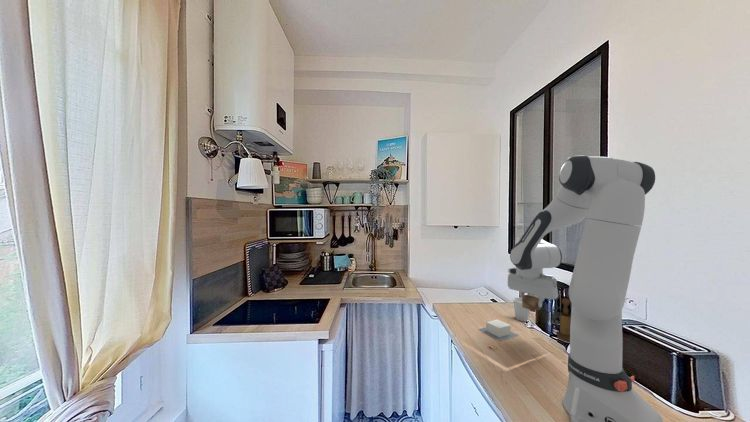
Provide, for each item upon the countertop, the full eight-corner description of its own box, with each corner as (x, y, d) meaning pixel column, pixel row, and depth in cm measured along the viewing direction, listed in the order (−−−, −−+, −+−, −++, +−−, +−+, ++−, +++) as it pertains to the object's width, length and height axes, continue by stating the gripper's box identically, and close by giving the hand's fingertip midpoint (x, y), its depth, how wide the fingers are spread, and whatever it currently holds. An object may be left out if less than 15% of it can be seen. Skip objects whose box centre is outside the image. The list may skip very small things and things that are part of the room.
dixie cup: (515, 321, 134) (515, 301, 134) (510, 315, 142) (510, 296, 142) (533, 323, 132) (533, 303, 132) (528, 316, 140) (528, 297, 140)
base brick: (510, 334, 118) (510, 325, 118) (499, 337, 115) (499, 328, 115) (496, 327, 124) (497, 319, 124) (486, 330, 121) (486, 322, 121)
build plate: (519, 337, 117) (519, 335, 117) (500, 343, 111) (500, 341, 111) (496, 327, 128) (496, 324, 128) (477, 331, 122) (477, 329, 122)
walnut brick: (541, 308, 113) (540, 297, 113) (533, 310, 110) (533, 298, 110) (529, 305, 117) (529, 294, 117) (522, 307, 115) (522, 295, 115)
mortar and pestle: (568, 345, 111) (568, 301, 111) (552, 338, 117) (553, 297, 117) (578, 342, 113) (578, 300, 113) (562, 335, 119) (563, 295, 119)
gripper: (560, 275, 106) (562, 310, 106) (514, 267, 124) (515, 297, 124) (551, 277, 103) (552, 313, 103) (504, 268, 122) (505, 299, 121)
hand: (531, 304), depth 114 cm, fingers closed on walnut brick, 5 cm apart
